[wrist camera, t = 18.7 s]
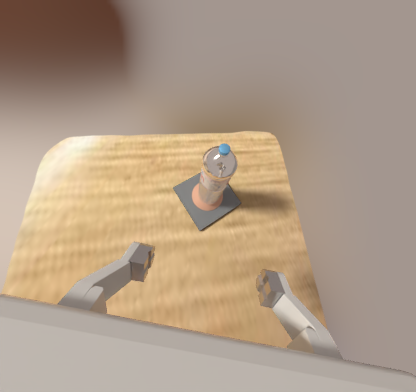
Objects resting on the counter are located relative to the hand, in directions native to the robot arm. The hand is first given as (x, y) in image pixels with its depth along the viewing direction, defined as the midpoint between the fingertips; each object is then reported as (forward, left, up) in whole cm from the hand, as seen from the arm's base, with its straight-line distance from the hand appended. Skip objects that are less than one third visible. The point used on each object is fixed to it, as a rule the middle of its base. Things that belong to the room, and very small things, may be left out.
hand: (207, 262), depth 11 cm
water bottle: (+11, -12, -33) cm, 37 cm away
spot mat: (+12, -12, -34) cm, 38 cm away
